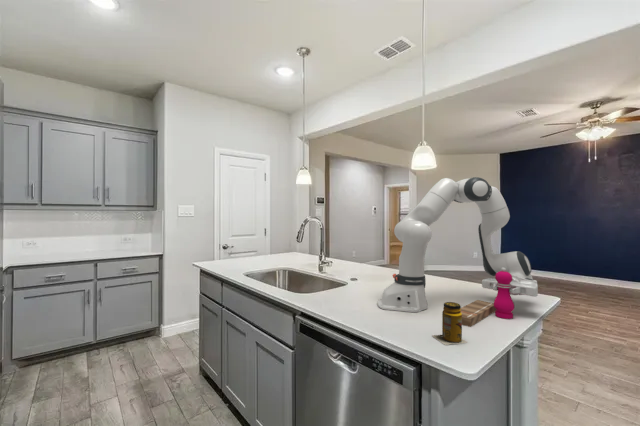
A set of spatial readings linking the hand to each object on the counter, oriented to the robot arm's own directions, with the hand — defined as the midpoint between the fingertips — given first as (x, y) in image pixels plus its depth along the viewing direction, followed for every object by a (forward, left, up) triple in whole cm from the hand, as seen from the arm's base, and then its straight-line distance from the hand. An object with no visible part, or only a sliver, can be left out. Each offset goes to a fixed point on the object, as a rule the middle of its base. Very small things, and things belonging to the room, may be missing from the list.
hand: (503, 289), depth 123 cm
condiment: (-28, -25, -11) cm, 40 cm away
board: (-11, 0, -11) cm, 16 cm away
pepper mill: (+1, +1, -11) cm, 11 cm away
